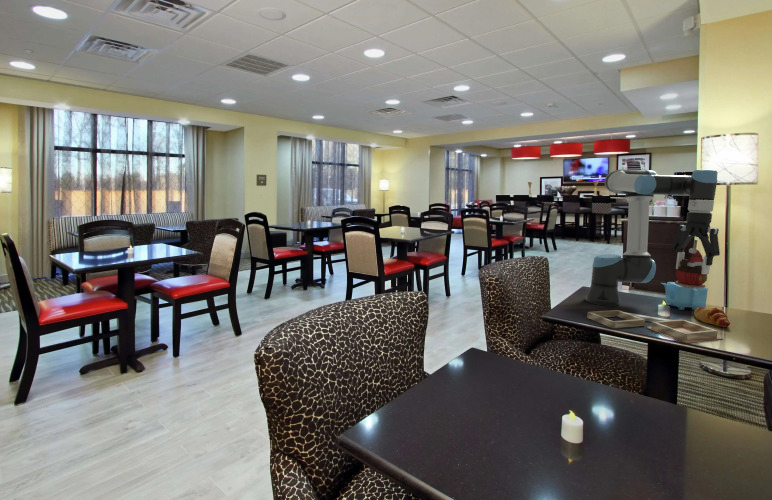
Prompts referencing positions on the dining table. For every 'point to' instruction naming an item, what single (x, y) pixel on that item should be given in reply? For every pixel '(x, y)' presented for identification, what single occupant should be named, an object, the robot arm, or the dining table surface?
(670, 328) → the square wooden frames
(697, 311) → the croissant
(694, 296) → the teapot
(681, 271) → the cake
